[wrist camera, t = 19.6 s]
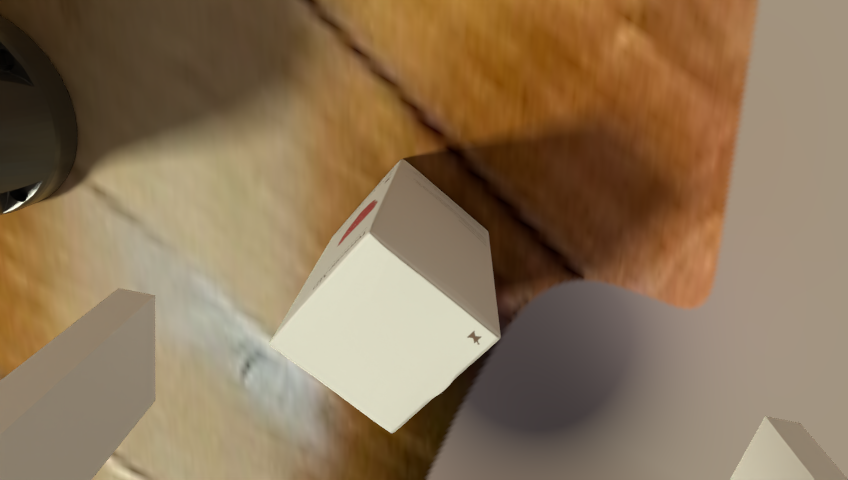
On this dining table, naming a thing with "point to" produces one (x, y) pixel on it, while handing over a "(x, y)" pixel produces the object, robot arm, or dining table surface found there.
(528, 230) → the dining table surface
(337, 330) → the supplement box
